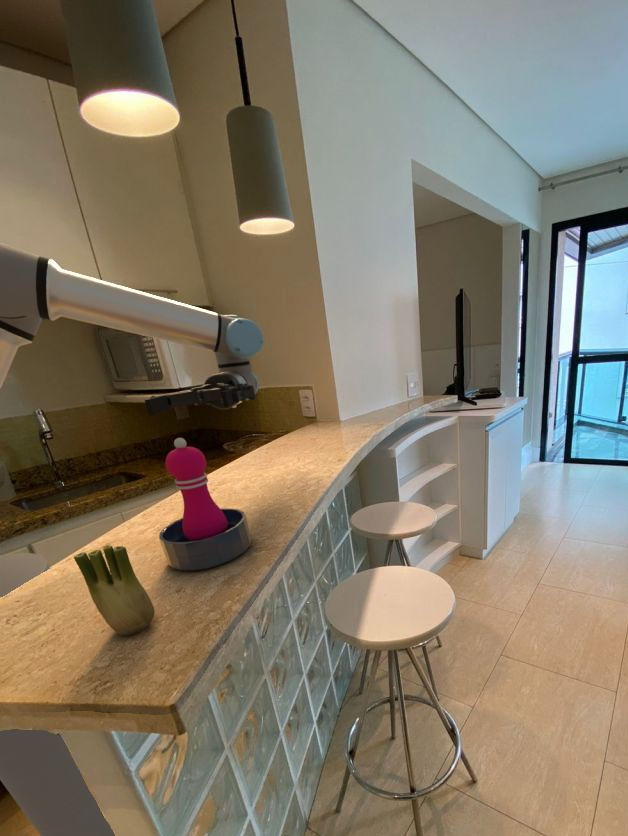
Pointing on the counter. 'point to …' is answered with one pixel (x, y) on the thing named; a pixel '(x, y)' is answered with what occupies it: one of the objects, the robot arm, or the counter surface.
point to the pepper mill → (195, 493)
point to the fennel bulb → (116, 589)
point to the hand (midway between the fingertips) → (186, 403)
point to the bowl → (206, 544)
